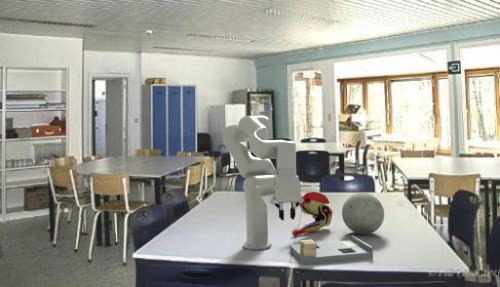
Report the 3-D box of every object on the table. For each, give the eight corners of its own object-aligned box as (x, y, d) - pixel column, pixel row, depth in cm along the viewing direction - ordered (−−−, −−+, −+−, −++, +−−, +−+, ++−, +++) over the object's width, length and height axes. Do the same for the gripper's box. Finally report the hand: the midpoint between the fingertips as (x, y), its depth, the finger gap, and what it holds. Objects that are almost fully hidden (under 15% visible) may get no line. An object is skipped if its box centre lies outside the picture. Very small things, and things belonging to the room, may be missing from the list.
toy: (287, 235, 203) (286, 194, 202) (325, 226, 219) (325, 188, 218) (297, 238, 197) (297, 196, 196) (336, 228, 213) (335, 190, 212)
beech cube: (300, 252, 168) (300, 240, 168) (312, 251, 169) (311, 239, 169) (304, 256, 163) (304, 243, 163) (316, 255, 164) (316, 242, 164)
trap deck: (290, 250, 179) (289, 240, 178) (353, 245, 184) (352, 235, 184) (303, 264, 161) (303, 253, 161) (372, 258, 167) (372, 247, 166)
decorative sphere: (385, 230, 208) (385, 190, 207) (382, 241, 190) (382, 197, 189) (345, 227, 216) (345, 189, 215) (338, 237, 197) (338, 195, 196)
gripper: (268, 174, 157) (269, 222, 158) (309, 172, 160) (310, 220, 161) (263, 172, 165) (264, 218, 166) (303, 170, 168) (304, 215, 169)
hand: (287, 218), depth 163 cm, fingers open, 3 cm apart
